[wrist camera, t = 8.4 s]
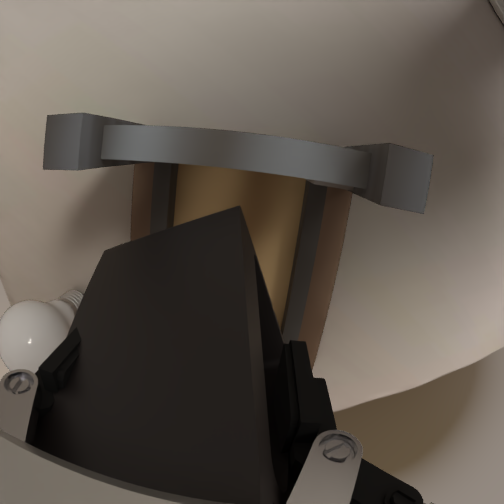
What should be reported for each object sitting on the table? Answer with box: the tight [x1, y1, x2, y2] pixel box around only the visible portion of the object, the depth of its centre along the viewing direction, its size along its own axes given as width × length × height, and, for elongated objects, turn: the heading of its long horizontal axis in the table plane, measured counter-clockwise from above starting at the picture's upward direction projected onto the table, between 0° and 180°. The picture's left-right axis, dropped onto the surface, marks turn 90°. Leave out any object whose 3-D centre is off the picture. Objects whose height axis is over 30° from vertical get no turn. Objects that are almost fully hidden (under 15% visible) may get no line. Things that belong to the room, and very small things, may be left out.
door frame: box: [43, 113, 434, 369], centre depth 19 cm, size 16×18×12 cm
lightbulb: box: [0, 290, 83, 374], centre depth 21 cm, size 6×6×11 cm
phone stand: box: [33, 205, 294, 504], centre depth 8 cm, size 9×6×12 cm, turn 17°
